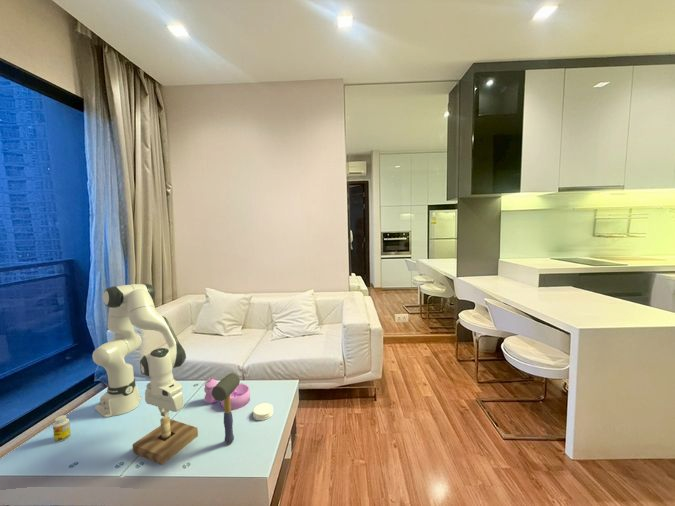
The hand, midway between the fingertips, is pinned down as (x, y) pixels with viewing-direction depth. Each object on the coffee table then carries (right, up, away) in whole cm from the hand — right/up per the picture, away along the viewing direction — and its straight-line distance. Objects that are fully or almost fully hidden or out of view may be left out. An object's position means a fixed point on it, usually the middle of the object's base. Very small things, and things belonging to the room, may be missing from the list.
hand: (164, 415), depth 131 cm
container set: (+15, -11, +33) cm, 38 cm away
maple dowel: (0, -13, +1) cm, 14 cm away
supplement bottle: (-52, -14, +7) cm, 54 cm away
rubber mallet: (+28, -13, +1) cm, 31 cm away
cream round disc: (+39, -11, +21) cm, 45 cm away
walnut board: (0, -13, +1) cm, 13 cm away
